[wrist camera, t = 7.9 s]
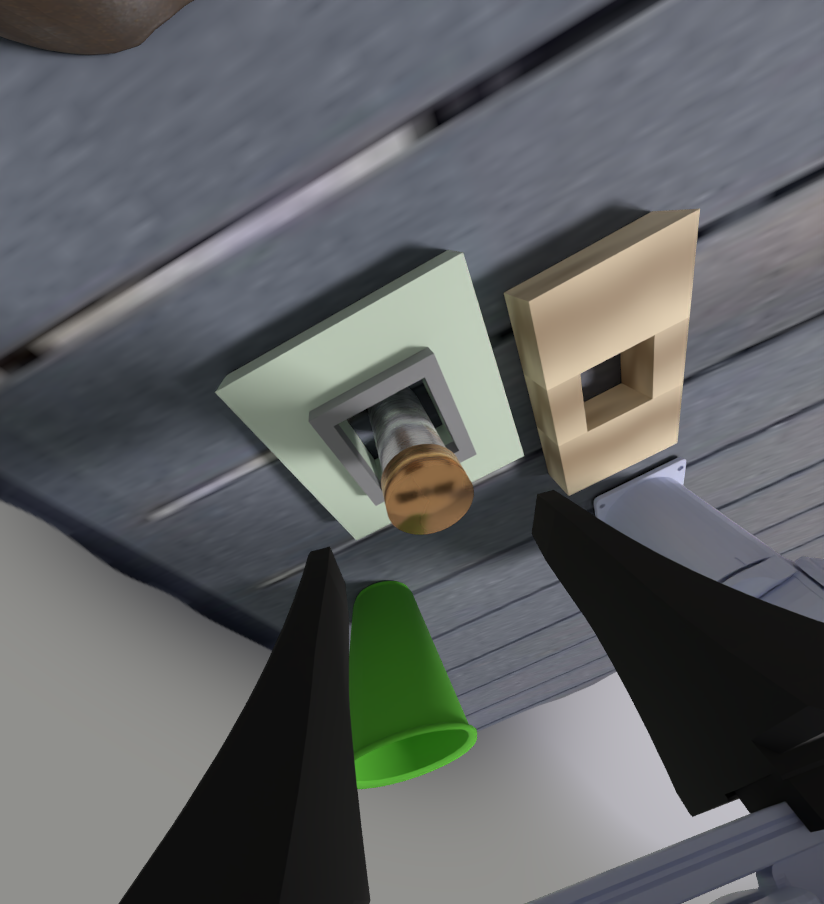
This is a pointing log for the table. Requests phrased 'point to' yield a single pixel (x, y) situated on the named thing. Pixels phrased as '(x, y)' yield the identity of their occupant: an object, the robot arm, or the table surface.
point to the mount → (608, 346)
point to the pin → (417, 467)
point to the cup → (399, 692)
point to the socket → (379, 388)
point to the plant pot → (84, 23)
